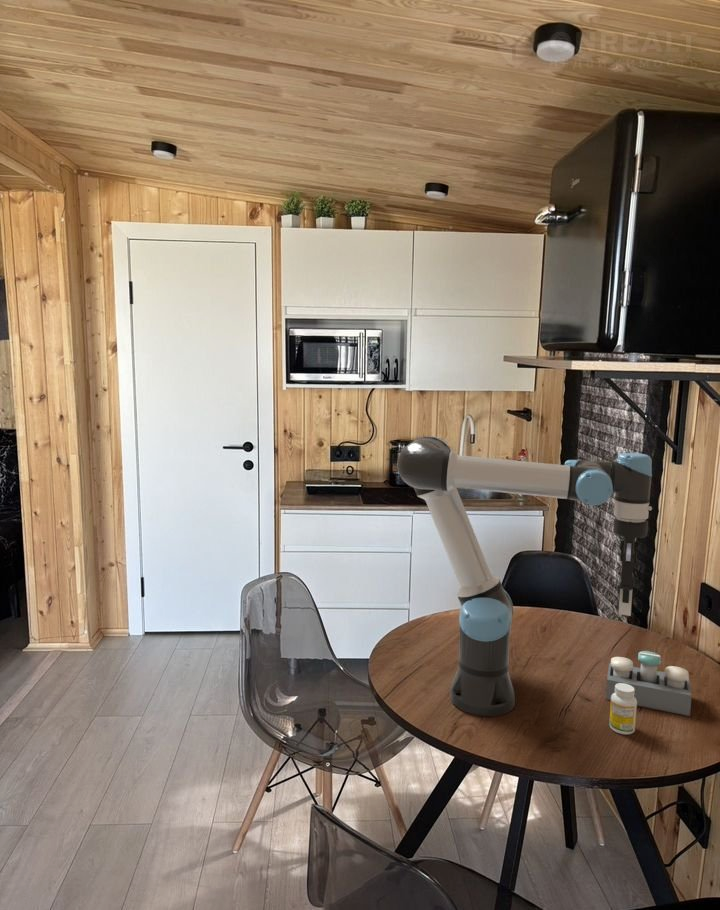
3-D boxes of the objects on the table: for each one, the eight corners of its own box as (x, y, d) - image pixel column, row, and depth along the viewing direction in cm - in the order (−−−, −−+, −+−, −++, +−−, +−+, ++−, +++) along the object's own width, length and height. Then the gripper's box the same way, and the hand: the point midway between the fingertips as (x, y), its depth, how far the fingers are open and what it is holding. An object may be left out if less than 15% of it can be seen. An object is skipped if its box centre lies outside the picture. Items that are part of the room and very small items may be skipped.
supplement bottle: (627, 738, 136) (630, 696, 135) (604, 727, 140) (606, 686, 139) (639, 729, 139) (642, 688, 138) (616, 719, 144) (619, 679, 142)
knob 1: (631, 692, 152) (632, 667, 151) (609, 688, 154) (610, 663, 153) (631, 683, 157) (633, 659, 156) (610, 679, 159) (611, 655, 158)
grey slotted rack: (689, 716, 145) (691, 695, 144) (605, 699, 152) (607, 679, 152) (687, 696, 154) (688, 676, 153) (608, 680, 161) (609, 662, 161)
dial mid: (659, 687, 149) (661, 660, 148) (636, 683, 151) (638, 656, 150) (659, 678, 154) (661, 652, 153) (636, 674, 156) (638, 648, 155)
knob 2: (687, 703, 147) (689, 677, 146) (663, 699, 149) (665, 673, 148) (686, 693, 152) (688, 668, 151) (663, 689, 154) (664, 664, 153)
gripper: (648, 526, 143) (641, 626, 146) (648, 514, 154) (641, 607, 157) (612, 522, 146) (606, 620, 149) (615, 511, 157) (609, 602, 160)
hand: (624, 613), depth 153 cm, fingers closed
